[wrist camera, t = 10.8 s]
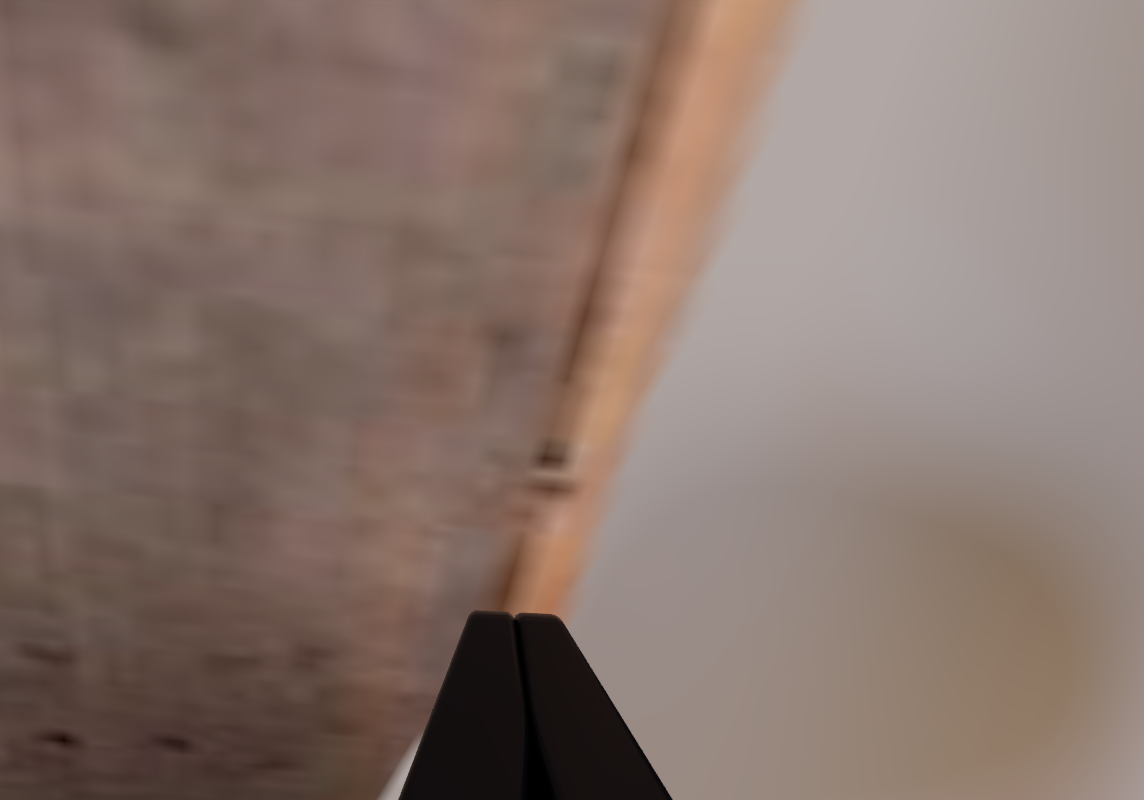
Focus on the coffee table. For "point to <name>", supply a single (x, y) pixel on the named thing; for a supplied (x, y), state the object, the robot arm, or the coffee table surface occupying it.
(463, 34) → the coffee table surface
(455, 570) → the coffee table surface
